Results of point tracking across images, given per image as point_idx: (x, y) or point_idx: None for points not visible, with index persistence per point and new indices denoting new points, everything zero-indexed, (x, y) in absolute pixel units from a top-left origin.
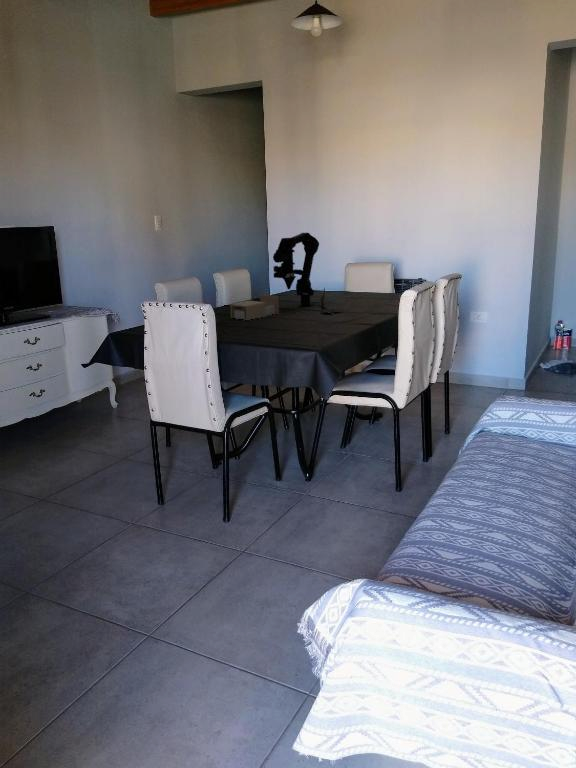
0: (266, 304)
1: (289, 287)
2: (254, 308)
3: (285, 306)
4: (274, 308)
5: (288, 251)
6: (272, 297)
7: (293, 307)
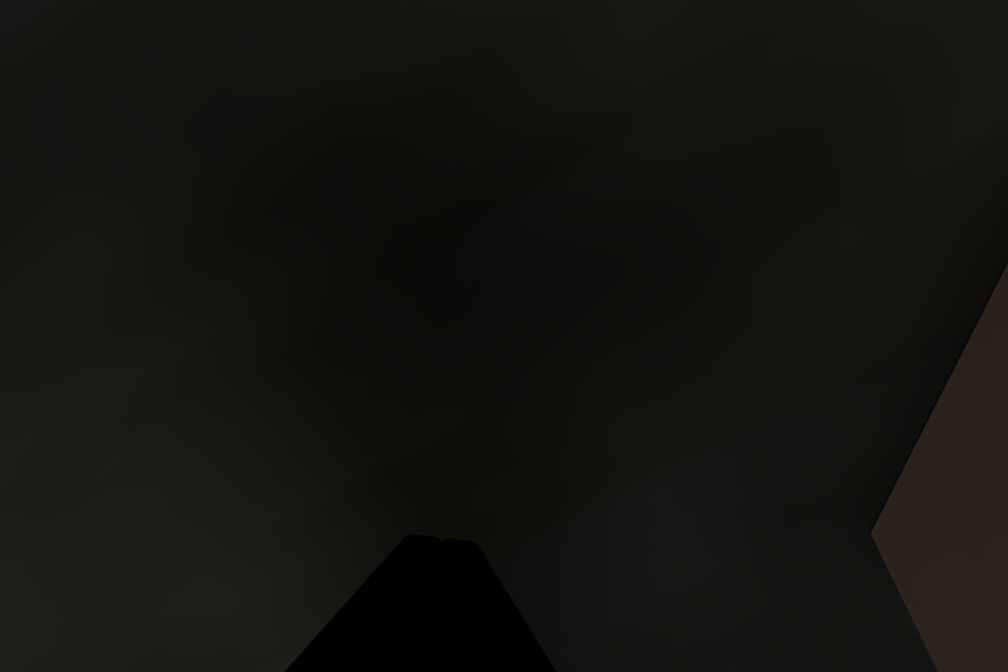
0: None
1: (476, 580)
2: None
3: (132, 494)
4: None
5: None
6: None
7: (124, 302)
